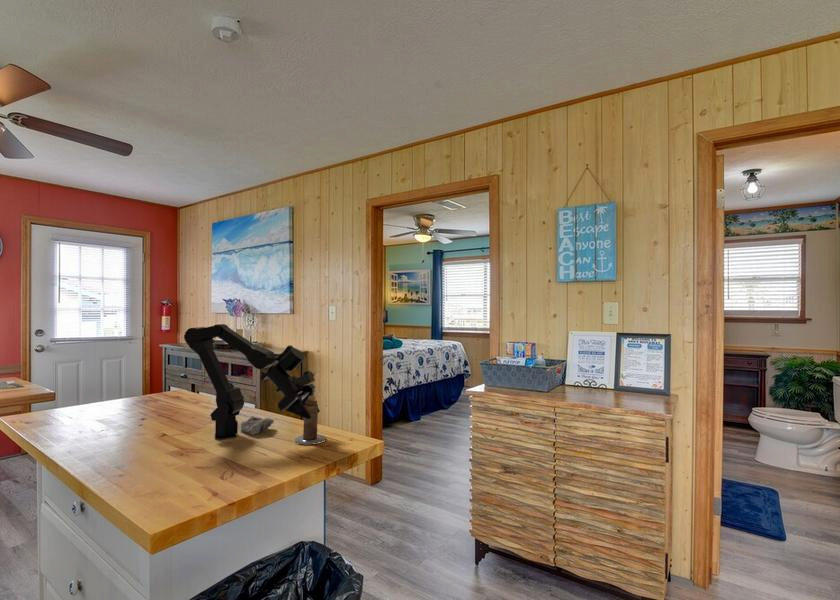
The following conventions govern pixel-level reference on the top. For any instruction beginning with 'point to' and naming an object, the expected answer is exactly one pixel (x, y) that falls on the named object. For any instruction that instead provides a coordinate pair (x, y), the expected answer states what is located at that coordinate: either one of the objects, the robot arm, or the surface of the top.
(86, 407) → the top surface
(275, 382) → the robot arm
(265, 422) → the mineral specimen
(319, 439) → the slate coaster
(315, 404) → the pepper mill
